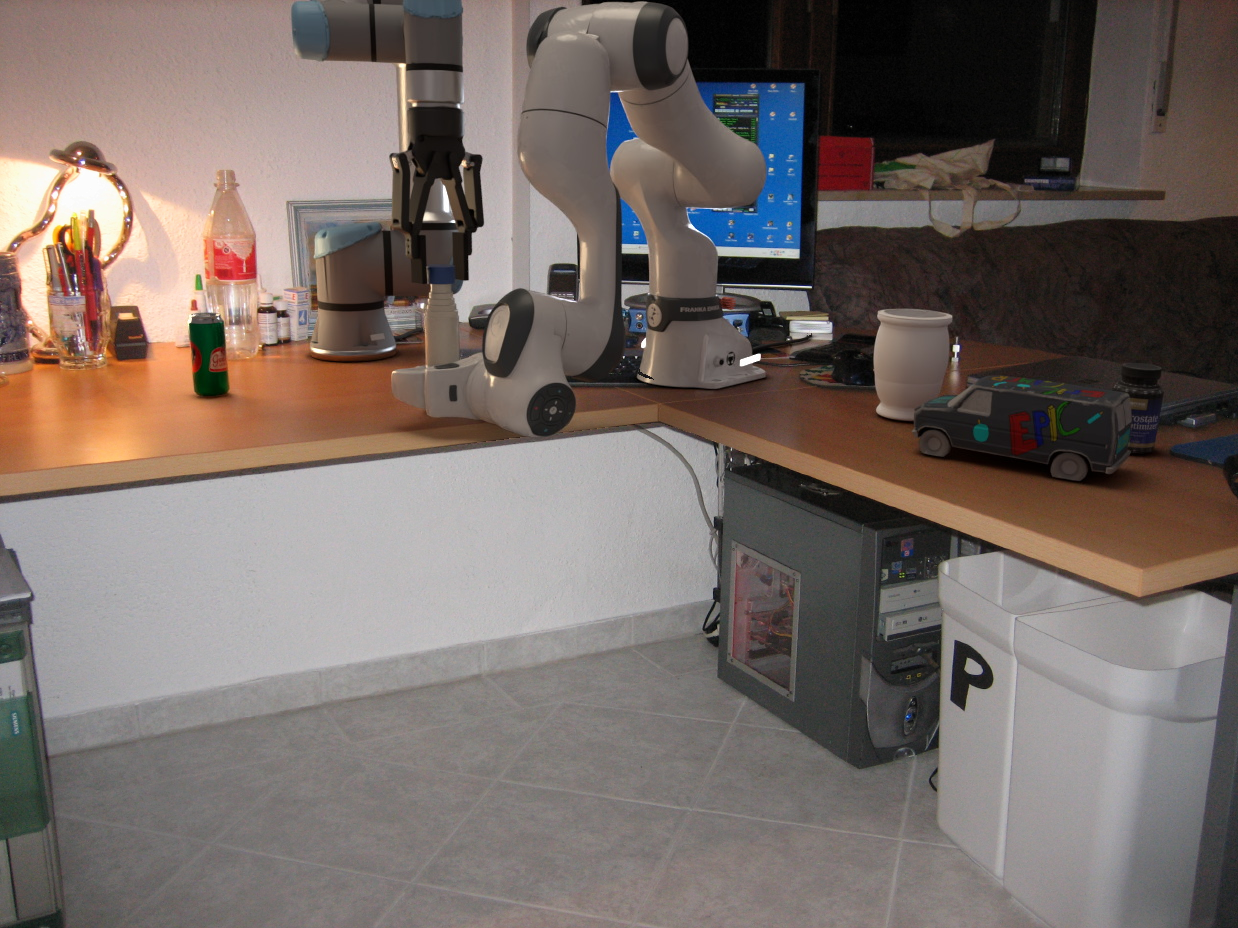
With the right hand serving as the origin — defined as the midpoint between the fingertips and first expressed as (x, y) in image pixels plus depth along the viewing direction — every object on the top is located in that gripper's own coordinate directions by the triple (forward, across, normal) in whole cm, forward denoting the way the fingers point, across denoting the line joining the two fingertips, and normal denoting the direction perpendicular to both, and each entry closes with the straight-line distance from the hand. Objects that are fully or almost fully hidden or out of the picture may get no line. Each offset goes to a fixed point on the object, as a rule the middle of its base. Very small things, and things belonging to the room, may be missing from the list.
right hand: (439, 369), depth 153 cm
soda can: (+27, +24, +6) cm, 37 cm away
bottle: (-1, 0, +6) cm, 6 cm away
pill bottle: (-67, -66, +6) cm, 94 cm away
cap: (-1, 0, -14) cm, 14 cm away
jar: (-39, -56, +6) cm, 68 cm away
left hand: (-1, 0, -13) cm, 13 cm away
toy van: (-62, -48, +6) cm, 79 cm away
